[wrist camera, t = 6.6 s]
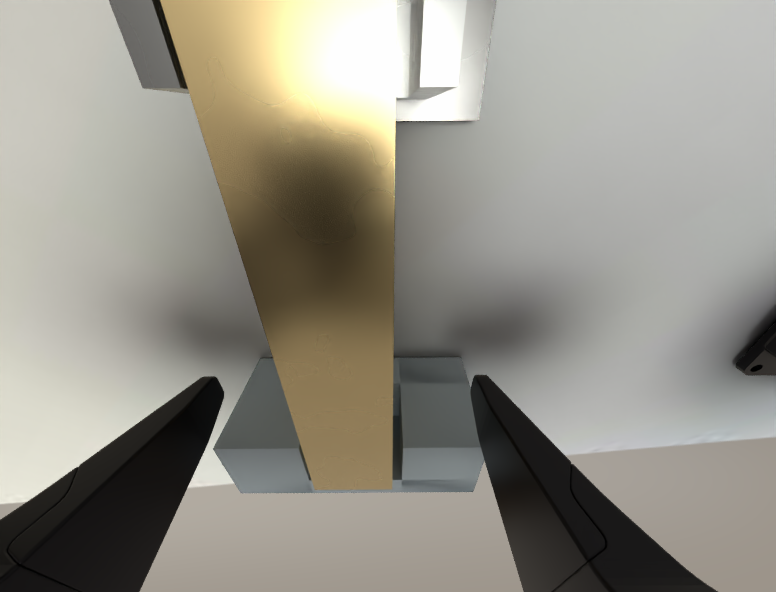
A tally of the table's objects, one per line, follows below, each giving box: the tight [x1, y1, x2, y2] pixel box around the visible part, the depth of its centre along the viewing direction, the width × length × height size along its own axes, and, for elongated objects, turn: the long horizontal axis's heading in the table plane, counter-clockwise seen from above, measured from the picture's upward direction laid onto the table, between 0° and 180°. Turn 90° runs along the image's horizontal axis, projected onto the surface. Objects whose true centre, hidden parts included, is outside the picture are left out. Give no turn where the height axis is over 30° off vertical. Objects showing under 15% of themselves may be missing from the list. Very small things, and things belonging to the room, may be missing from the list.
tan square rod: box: [160, 0, 396, 490], centre depth 8 cm, size 3×15×3 cm, turn 0°
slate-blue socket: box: [213, 357, 484, 493], centre depth 13 cm, size 10×4×4 cm, turn 90°
